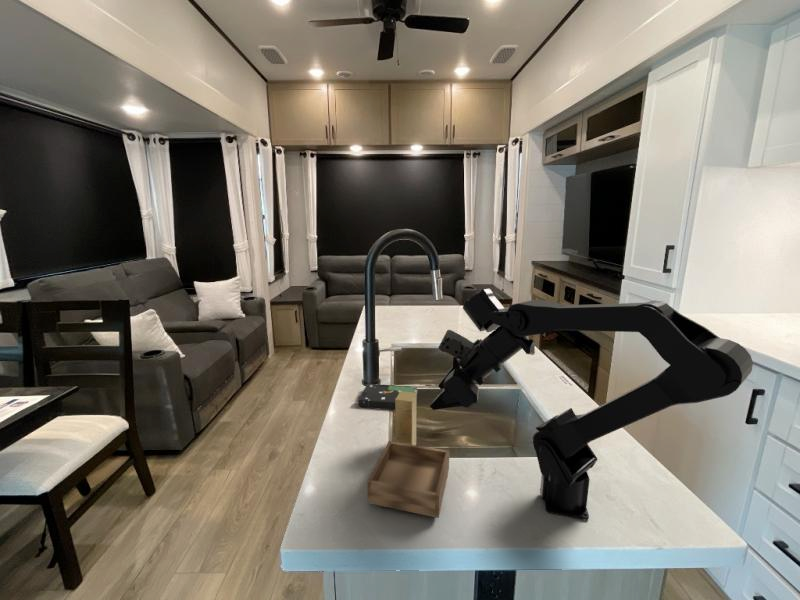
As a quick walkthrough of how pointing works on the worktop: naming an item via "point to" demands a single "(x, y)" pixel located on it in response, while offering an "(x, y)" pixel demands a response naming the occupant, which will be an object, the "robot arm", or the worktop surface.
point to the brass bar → (405, 418)
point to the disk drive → (382, 395)
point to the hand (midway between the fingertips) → (435, 397)
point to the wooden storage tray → (409, 478)
